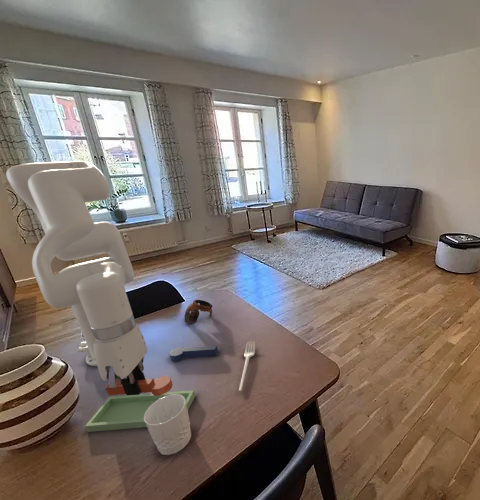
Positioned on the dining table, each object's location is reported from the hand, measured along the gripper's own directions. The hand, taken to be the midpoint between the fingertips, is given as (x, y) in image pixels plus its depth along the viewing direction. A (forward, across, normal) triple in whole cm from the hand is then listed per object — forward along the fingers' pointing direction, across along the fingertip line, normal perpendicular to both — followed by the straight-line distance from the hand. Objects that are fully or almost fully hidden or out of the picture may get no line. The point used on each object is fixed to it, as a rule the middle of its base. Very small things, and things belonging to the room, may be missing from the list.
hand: (136, 389), depth 72 cm
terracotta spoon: (0, 0, +2) cm, 2 cm away
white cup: (+8, +8, +11) cm, 16 cm away
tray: (+8, 0, 0) cm, 8 cm away
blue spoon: (+8, -21, +3) cm, 23 cm away
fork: (+8, -14, +22) cm, 27 cm away
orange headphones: (+8, -42, -3) cm, 43 cm away
